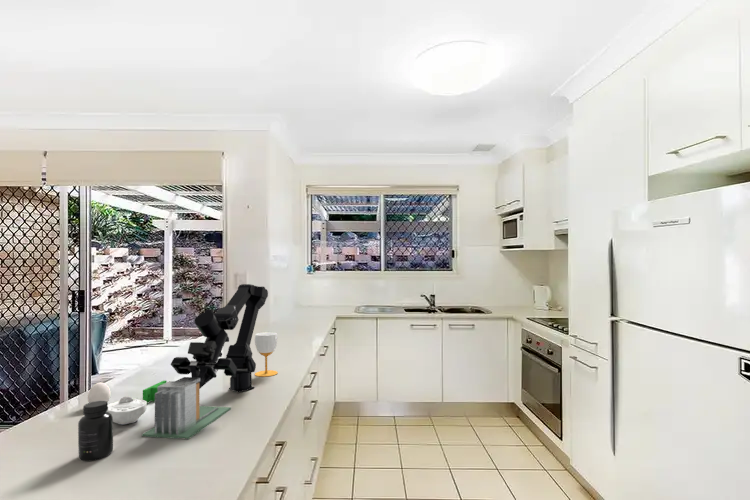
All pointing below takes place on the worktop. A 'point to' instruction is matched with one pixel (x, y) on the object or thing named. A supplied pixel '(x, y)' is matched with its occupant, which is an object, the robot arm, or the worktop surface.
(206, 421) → the board
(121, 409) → the cell model
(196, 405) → the orange block
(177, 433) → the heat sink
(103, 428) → the supplement bottle
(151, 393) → the pipe clamp
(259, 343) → the cup
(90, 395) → the egg
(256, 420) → the worktop surface
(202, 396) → the worktop surface
